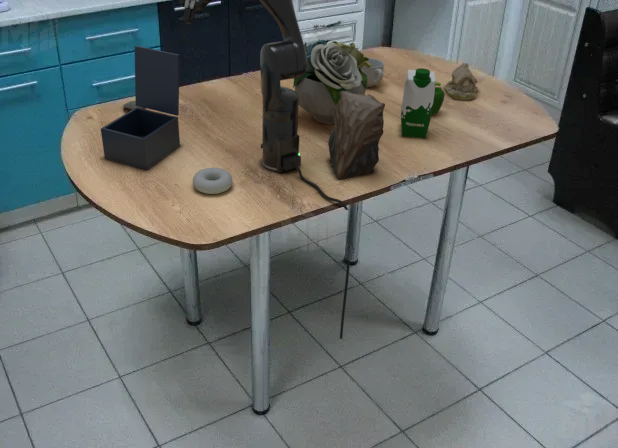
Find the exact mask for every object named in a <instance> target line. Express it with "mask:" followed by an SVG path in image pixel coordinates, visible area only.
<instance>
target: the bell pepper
mask: <svg viewBox="0 0 618 448" xmlns="http://www.w3.org/2000/svg"><path fill="white" fill-rule="evenodd" d="M441 85H442V83H441V82H436V87H435V94H434V101H433V107H432V113H431V116H434V115H437V114H438V113H439V112H440V110H441V108H442V106H443V103H444V100H445V95H446V94H445V91H444V90H443V89H442V87H441Z"/></svg>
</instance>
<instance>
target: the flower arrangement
mask: <svg viewBox="0 0 618 448" xmlns="http://www.w3.org/2000/svg"><path fill="white" fill-rule="evenodd" d="M304 47H305V51H306V56H307V71H306V73H305V75H304V76H302V77H298V78H293V86H292V87H293V88H292V89H294V91H295V92H297V94H298V96H299V107H301V108H302V109H303V110H304V111H305V112H307V113H308V114H309V115H310V116H311V115H312V116H313V117H314V120H315V121H317V122H319V123H321V124H328V125H329V124H331V125H334V111H335V108H336V105H337V104H338V102H339V100H340V92H341V91H348V92H351V93H352V94H361V95H365V96H366V91H367V90H368V89H367V88H368V87H367V80H368V78H367V76H366V74H364V73H363V72H362V71H361V68H362V67H364V66H365V67H368V68H369V67H371V64H370V63H369V62H367V61H368V60H369V58H370V57H367V56H365V55H364V53H363V52H362V51H361V50H359V49H358V48H356V44H355V42H351V43H348V44H346V43H344V42H339V41H336V40H334V41H332V39H327V40H326V39H318V40H316V41H315V42H312V43H309V44H308V42H307V41H304Z"/></svg>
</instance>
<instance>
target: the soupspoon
mask: <svg viewBox="0 0 618 448" xmlns="http://www.w3.org/2000/svg"><path fill="white" fill-rule="evenodd" d="M122 107H123V108H126V109H129V110H133V109H134V108H136V107H138V108H142V109H144V108H143V107H139V106H136V102H135V100H131V101H130V100H129V101H127V102H126V103H124V104H123V105H122Z"/></svg>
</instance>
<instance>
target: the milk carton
mask: <svg viewBox="0 0 618 448" xmlns="http://www.w3.org/2000/svg"><path fill="white" fill-rule="evenodd" d="M436 83H437V82H436V73H435V71H431V70H429V69H427V68H423V67H421V68H417V69H407V74H406V77H405V80H404V87H403V95H402V102H401V110H400V124H401V125H400V126H401V136H402V137H404V138H405V137H406V138H415V139H416V138H417V139H427V134H428V131H429V127H430V123H431V119H432V115H431V113H432V107H433V101H434V94H435V87H437V86H436Z"/></svg>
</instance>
